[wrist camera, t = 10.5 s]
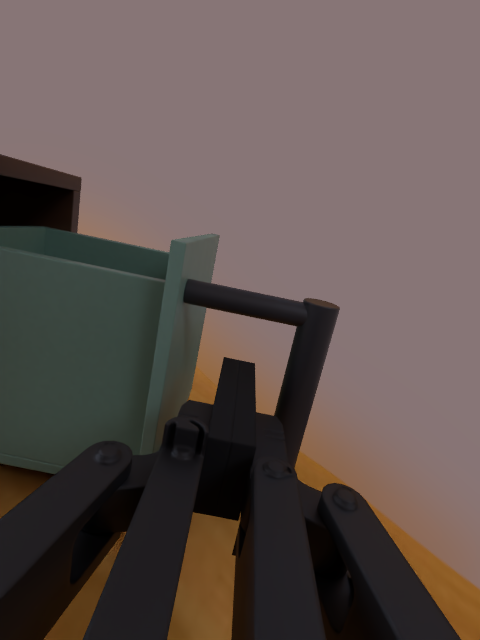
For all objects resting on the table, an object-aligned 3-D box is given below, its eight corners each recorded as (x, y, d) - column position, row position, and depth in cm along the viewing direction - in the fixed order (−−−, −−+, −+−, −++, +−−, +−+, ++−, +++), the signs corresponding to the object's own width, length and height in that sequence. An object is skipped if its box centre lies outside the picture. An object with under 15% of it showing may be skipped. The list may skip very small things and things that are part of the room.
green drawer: (269, 405, 30) (307, 253, 27) (282, 545, 17) (361, 279, 13) (43, 359, 30) (53, 200, 26) (-124, 465, 16) (-148, 173, 13)
